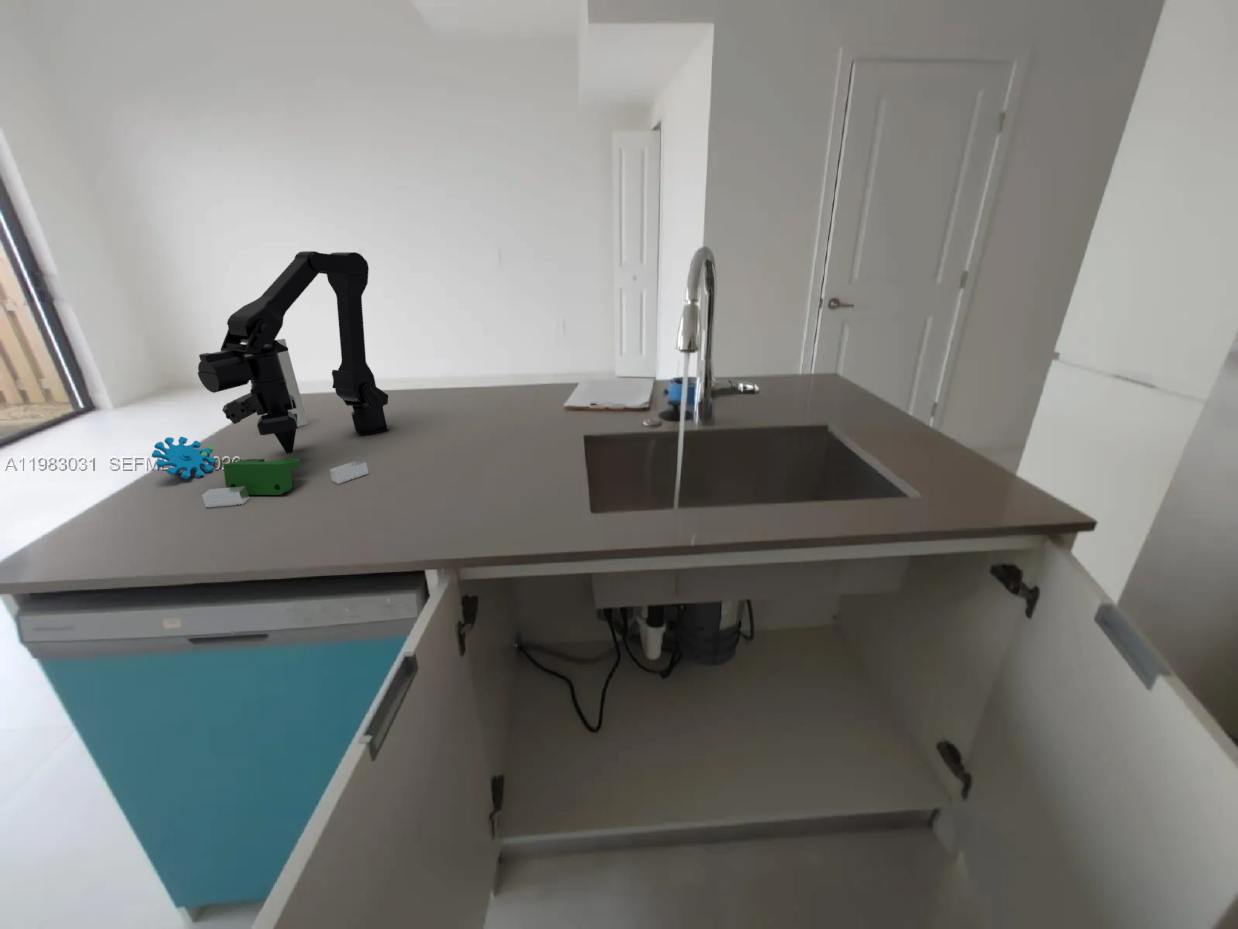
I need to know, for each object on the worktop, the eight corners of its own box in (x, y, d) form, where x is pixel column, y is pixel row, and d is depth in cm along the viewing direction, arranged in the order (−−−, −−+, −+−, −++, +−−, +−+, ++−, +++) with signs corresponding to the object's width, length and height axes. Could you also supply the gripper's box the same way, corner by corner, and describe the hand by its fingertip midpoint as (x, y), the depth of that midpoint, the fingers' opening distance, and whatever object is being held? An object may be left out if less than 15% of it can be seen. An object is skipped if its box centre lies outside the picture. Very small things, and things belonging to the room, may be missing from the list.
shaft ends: (367, 469, 109) (364, 458, 108) (370, 477, 105) (367, 465, 105) (207, 502, 98) (203, 490, 97) (204, 512, 94) (200, 500, 93)
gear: (176, 480, 103) (141, 440, 103) (165, 499, 105) (131, 460, 105) (232, 465, 113) (200, 428, 113) (221, 482, 115) (190, 446, 115)
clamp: (298, 505, 105) (311, 462, 104) (277, 513, 99) (290, 468, 98) (241, 481, 105) (253, 437, 104) (216, 487, 99) (229, 441, 98)
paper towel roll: (265, 429, 133) (238, 341, 124) (287, 421, 138) (263, 336, 129) (286, 433, 130) (260, 342, 122) (308, 424, 135) (284, 337, 127)
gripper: (222, 374, 110) (246, 446, 117) (212, 397, 95) (240, 478, 102) (285, 366, 115) (305, 436, 122) (285, 386, 100) (307, 464, 107)
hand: (289, 452), depth 113 cm, fingers closed
